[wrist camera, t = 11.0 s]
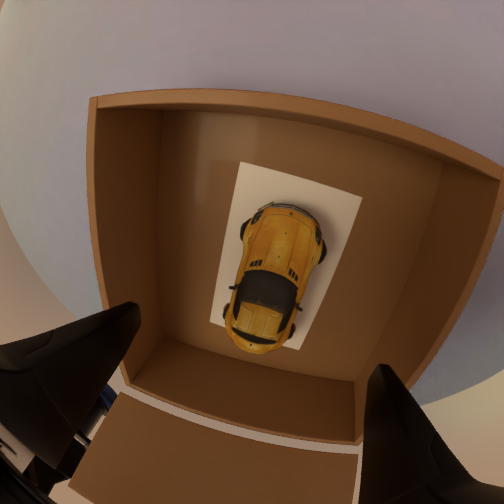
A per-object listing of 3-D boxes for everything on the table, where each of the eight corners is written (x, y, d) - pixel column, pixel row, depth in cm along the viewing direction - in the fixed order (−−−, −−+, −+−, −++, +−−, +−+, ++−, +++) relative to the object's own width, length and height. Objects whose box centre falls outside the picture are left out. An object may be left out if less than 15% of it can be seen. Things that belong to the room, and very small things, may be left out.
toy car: (338, 215, 12) (342, 232, 10) (286, 346, 16) (280, 375, 14) (251, 189, 12) (237, 201, 10) (221, 325, 16) (208, 351, 14)
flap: (358, 454, 11) (355, 455, 12) (120, 391, 14) (121, 393, 14) (337, 566, 5) (334, 565, 5) (67, 485, 7) (70, 486, 8)
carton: (357, 382, 17) (358, 446, 12) (162, 334, 19) (125, 385, 14) (448, 154, 10) (512, 172, 5) (161, 102, 12) (89, 97, 7)
